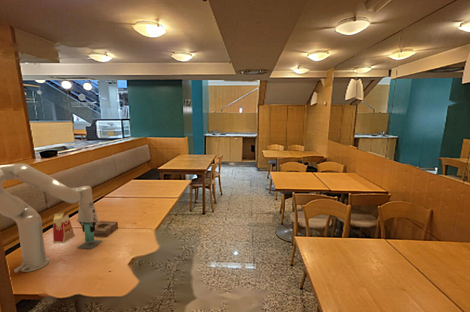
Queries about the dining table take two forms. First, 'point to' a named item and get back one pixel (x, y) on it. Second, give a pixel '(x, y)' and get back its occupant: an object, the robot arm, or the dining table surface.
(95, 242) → the mat
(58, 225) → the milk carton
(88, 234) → the peg
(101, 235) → the pocket block
